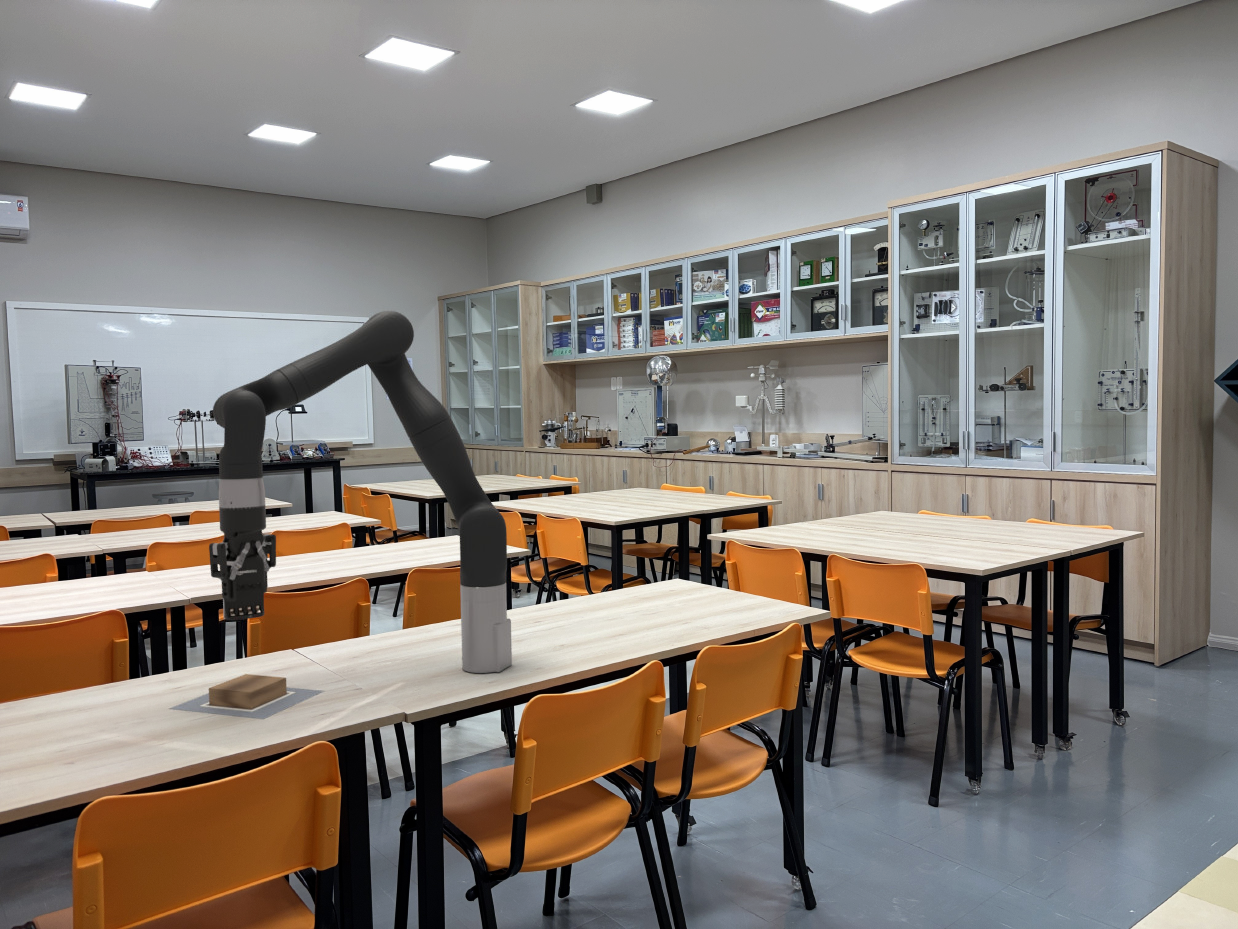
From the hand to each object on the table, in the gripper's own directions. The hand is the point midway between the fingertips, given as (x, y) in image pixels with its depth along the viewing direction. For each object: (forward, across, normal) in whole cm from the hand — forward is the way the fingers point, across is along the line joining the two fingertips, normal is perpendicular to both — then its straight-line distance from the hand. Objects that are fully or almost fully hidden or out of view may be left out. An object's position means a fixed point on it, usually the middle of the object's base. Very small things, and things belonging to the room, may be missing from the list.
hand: (245, 596), depth 154 cm
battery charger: (+4, 0, 0) cm, 4 cm away
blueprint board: (+19, 0, 0) cm, 19 cm away
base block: (+18, 0, 0) cm, 18 cm away
